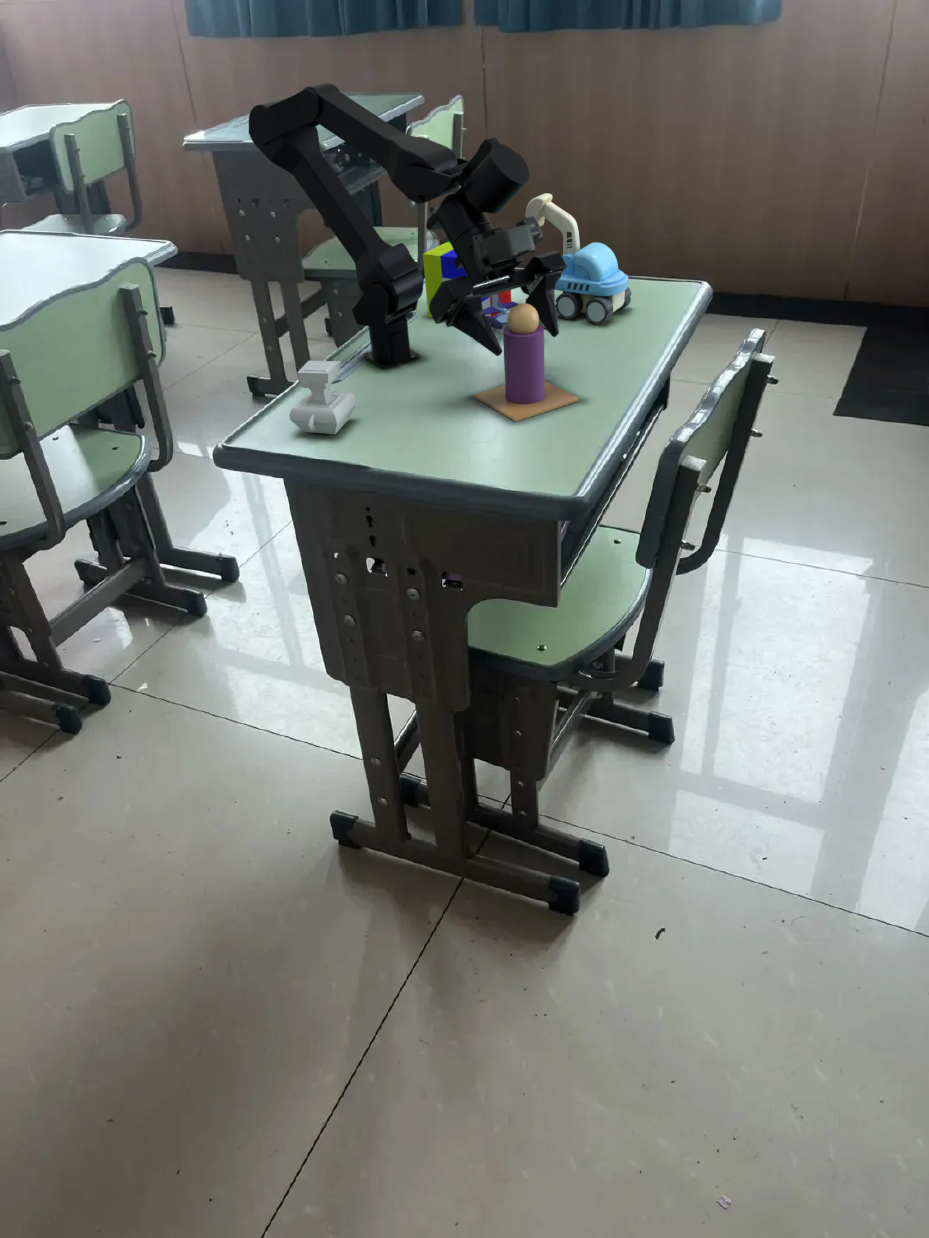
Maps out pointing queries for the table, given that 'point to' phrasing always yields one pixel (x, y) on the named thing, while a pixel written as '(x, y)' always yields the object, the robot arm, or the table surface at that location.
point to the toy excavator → (583, 269)
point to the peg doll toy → (524, 355)
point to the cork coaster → (522, 411)
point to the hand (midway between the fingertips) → (528, 344)
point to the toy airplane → (497, 307)
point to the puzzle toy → (449, 274)
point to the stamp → (322, 399)
